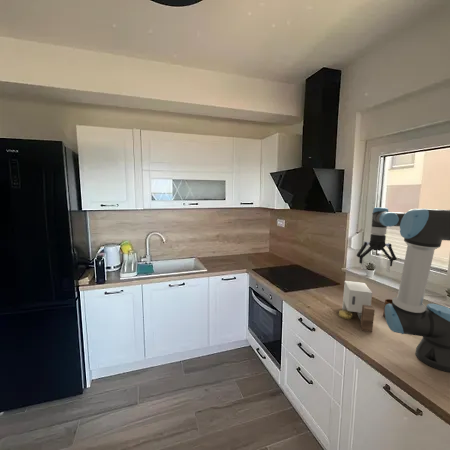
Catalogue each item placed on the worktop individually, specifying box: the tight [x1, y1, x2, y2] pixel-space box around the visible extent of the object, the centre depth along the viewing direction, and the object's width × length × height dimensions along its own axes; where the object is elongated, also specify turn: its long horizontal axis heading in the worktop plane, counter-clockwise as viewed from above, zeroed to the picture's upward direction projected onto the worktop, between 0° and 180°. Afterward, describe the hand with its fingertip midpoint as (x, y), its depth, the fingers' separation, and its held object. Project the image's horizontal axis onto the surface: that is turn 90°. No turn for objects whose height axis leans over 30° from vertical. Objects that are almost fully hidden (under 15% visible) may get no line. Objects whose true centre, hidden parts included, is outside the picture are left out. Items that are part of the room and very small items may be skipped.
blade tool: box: [356, 305, 375, 333], centre depth 140 cm, size 20×4×12 cm, turn 164°
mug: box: [382, 298, 393, 318], centre depth 148 cm, size 12×8×9 cm, turn 111°
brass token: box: [338, 309, 354, 320], centre depth 147 cm, size 7×7×2 cm
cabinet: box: [341, 280, 373, 313], centre depth 147 cm, size 17×11×18 cm, turn 164°
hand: (374, 270), depth 150 cm, fingers open, 13 cm apart
